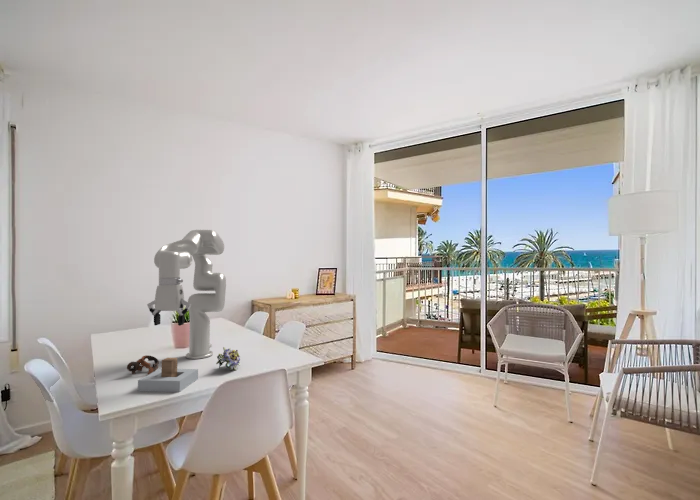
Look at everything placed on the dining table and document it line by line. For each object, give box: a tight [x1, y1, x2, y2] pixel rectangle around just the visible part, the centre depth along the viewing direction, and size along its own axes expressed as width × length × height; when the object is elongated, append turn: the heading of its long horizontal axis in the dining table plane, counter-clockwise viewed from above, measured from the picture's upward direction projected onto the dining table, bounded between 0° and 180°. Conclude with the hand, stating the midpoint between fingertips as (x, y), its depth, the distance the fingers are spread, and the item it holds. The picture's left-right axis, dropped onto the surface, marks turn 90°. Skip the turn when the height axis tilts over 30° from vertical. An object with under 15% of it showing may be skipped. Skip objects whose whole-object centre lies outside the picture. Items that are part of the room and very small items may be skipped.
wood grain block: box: [161, 357, 178, 377], centre depth 136 cm, size 4×4×10 cm
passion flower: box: [215, 346, 241, 371], centre depth 156 cm, size 11×11×12 cm
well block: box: [137, 368, 199, 393], centre depth 136 cm, size 14×16×4 cm
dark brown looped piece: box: [126, 354, 160, 375], centre depth 149 cm, size 12×10×8 cm
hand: (169, 324), depth 140 cm, fingers open, 9 cm apart
